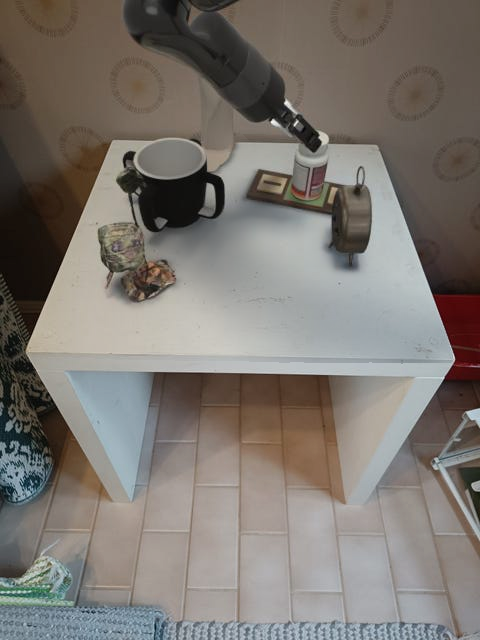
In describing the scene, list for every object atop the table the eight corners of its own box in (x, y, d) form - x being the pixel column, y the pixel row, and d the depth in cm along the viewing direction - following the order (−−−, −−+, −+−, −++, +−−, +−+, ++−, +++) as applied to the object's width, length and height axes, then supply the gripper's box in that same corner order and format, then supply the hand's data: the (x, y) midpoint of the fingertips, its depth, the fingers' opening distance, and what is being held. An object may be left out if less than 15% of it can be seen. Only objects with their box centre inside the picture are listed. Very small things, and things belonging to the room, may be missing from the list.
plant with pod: (104, 272, 72) (67, 166, 56) (171, 259, 74) (154, 153, 58) (109, 309, 67) (70, 205, 51) (181, 294, 69) (164, 189, 53)
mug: (229, 235, 78) (228, 178, 68) (140, 250, 75) (126, 193, 66) (210, 182, 87) (207, 125, 77) (130, 194, 85) (117, 136, 75)
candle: (189, 169, 90) (179, 67, 74) (206, 135, 98) (201, 35, 82) (222, 174, 89) (219, 71, 73) (237, 139, 97) (237, 39, 81)
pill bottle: (322, 184, 86) (333, 129, 77) (321, 203, 82) (332, 148, 73) (291, 181, 86) (298, 126, 77) (289, 200, 82) (295, 145, 73)
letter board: (364, 192, 86) (366, 186, 85) (358, 220, 80) (360, 215, 79) (258, 172, 89) (258, 166, 88) (246, 198, 84) (246, 192, 83)
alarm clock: (361, 271, 73) (388, 190, 60) (329, 271, 73) (349, 190, 60) (351, 228, 79) (374, 146, 66) (322, 227, 79) (339, 146, 66)
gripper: (294, 76, 55) (344, 135, 68) (235, 38, 62) (290, 98, 75) (258, 128, 58) (313, 175, 71) (205, 85, 65) (263, 135, 78)
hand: (301, 135), depth 73 cm, fingers open, 8 cm apart
